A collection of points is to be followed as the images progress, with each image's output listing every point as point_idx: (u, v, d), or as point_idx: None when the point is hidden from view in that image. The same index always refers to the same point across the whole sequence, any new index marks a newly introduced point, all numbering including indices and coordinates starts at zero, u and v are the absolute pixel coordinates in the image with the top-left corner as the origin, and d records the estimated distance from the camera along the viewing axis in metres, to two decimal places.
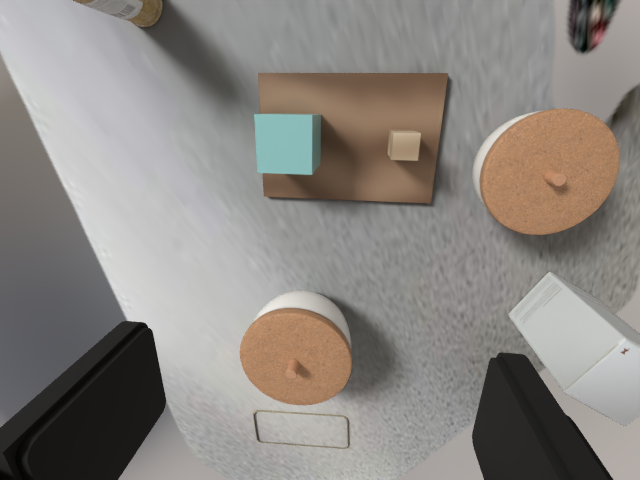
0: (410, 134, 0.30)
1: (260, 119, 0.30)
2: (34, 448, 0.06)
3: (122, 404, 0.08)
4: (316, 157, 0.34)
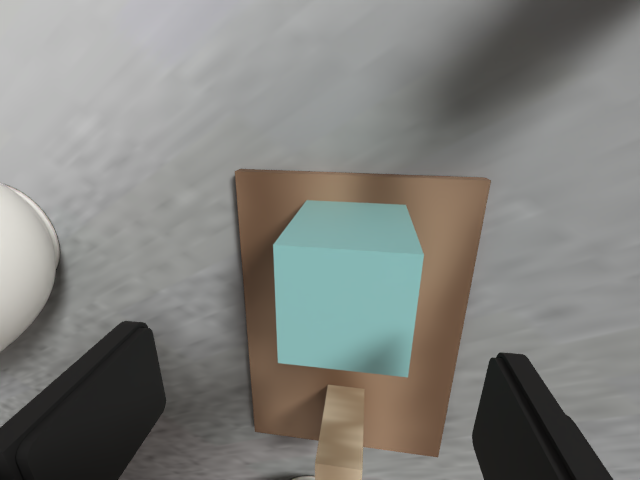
0: None
1: (408, 268, 0.12)
2: (34, 448, 0.06)
3: (122, 404, 0.08)
4: None
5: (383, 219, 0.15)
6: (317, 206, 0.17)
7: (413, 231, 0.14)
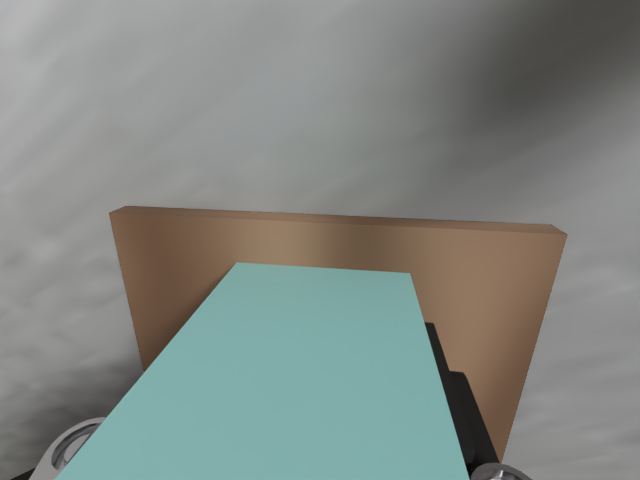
0: None
1: None
2: None
3: None
4: None
5: (369, 327, 0.07)
6: (248, 282, 0.09)
7: (436, 381, 0.06)
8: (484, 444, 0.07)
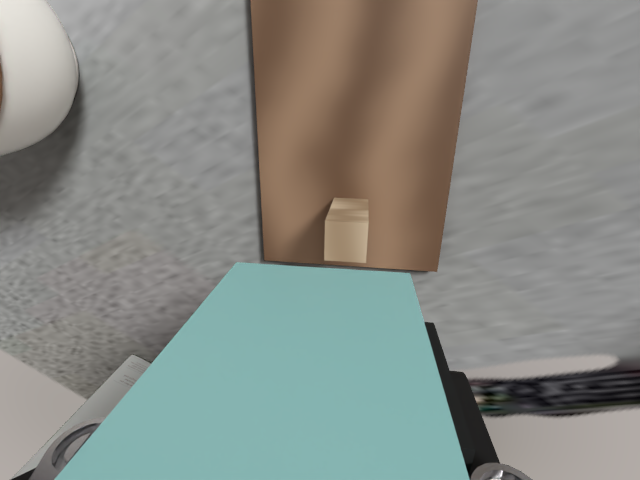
0: (364, 248, 0.19)
1: None
2: None
3: None
4: None
5: (368, 327, 0.07)
6: (248, 282, 0.09)
7: (436, 382, 0.06)
8: (484, 444, 0.07)
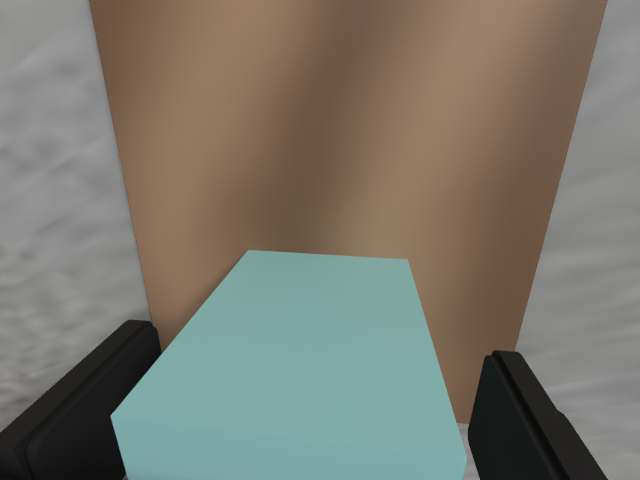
0: None
1: None
2: (43, 444, 0.06)
3: None
4: None
5: (370, 303, 0.08)
6: (260, 266, 0.10)
7: (429, 345, 0.07)
8: None
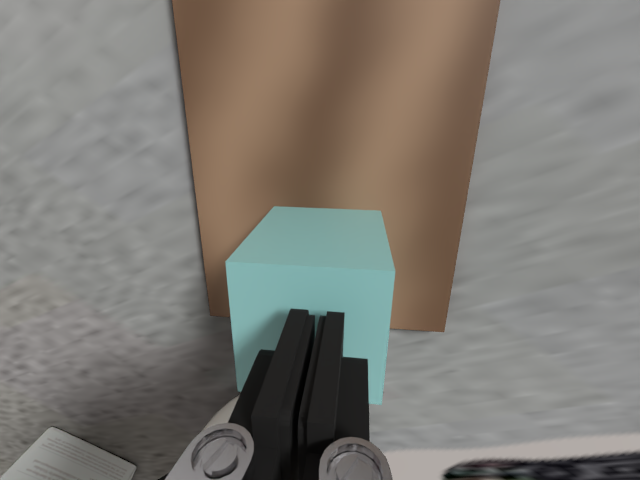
0: None
1: (378, 286, 0.10)
2: (288, 416, 0.07)
3: None
4: None
5: (354, 228, 0.14)
6: (284, 213, 0.15)
7: (386, 242, 0.12)
8: (361, 422, 0.07)
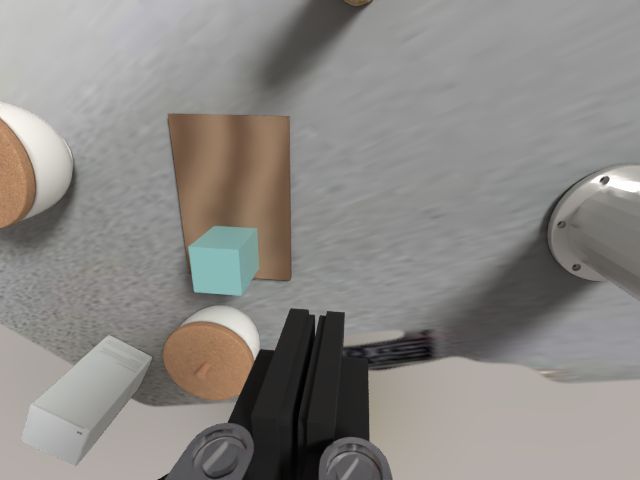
0: None
1: (234, 254, 0.34)
2: (288, 416, 0.07)
3: None
4: None
5: (239, 235, 0.37)
6: (216, 229, 0.39)
7: (245, 241, 0.36)
8: (361, 422, 0.07)
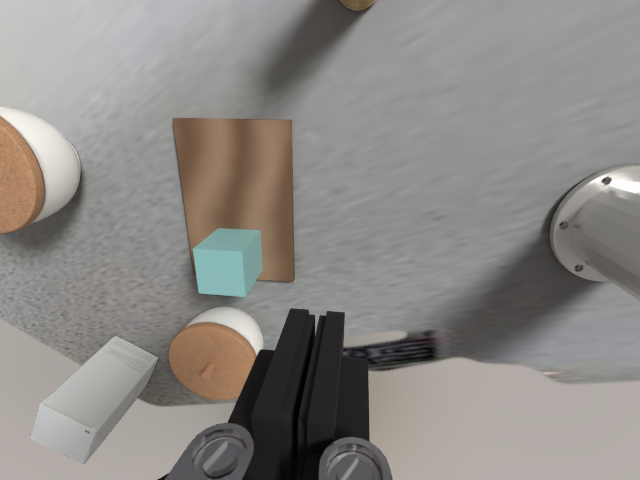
0: None
1: (238, 256, 0.34)
2: (288, 416, 0.07)
3: None
4: None
5: (242, 238, 0.38)
6: (220, 231, 0.40)
7: (248, 243, 0.36)
8: (361, 422, 0.07)
